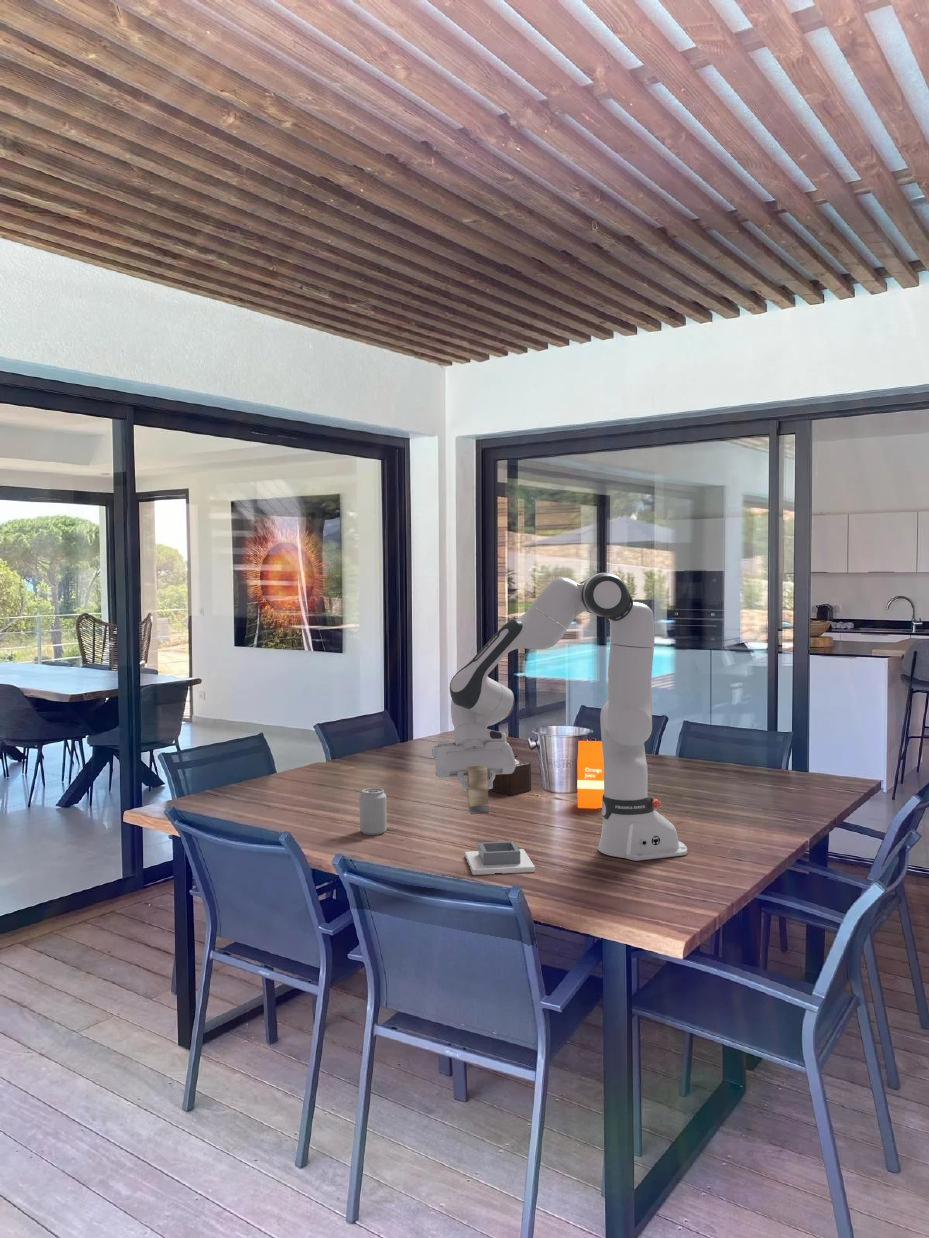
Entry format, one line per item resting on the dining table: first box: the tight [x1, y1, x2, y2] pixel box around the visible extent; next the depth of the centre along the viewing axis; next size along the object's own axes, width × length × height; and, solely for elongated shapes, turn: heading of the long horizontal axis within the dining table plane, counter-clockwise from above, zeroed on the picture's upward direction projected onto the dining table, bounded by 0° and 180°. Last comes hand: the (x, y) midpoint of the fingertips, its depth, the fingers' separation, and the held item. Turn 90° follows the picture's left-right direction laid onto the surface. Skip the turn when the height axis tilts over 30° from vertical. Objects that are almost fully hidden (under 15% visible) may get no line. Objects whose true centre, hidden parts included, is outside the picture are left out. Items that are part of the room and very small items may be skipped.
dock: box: [464, 840, 536, 876], centre depth 228 cm, size 15×15×4 cm
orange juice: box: [576, 740, 604, 809], centre depth 286 cm, size 8×9×20 cm
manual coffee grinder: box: [488, 741, 532, 796], centre depth 309 cm, size 16×11×18 cm
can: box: [359, 787, 388, 836], centre depth 258 cm, size 8×8×12 cm
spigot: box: [466, 766, 490, 815], centre depth 229 cm, size 4×4×11 cm
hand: (478, 788), depth 228 cm, fingers closed on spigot, 4 cm apart
